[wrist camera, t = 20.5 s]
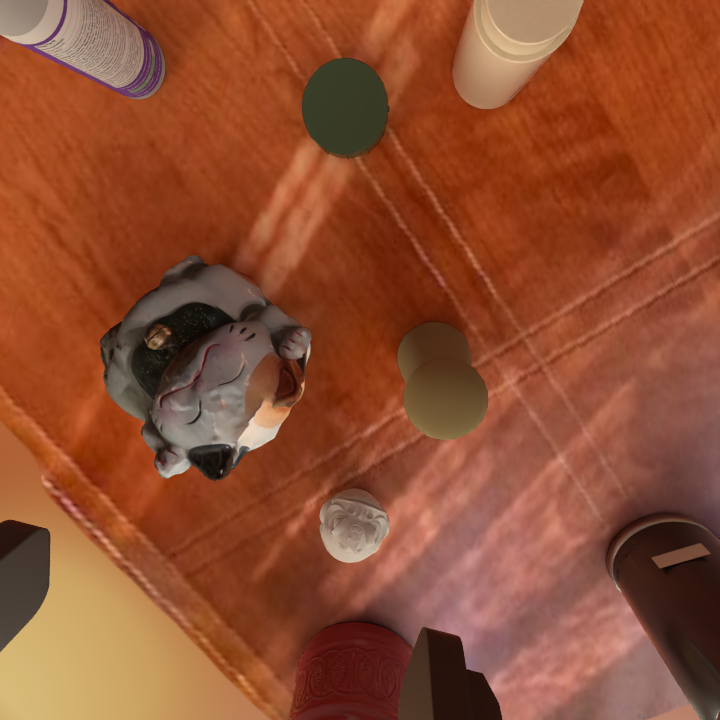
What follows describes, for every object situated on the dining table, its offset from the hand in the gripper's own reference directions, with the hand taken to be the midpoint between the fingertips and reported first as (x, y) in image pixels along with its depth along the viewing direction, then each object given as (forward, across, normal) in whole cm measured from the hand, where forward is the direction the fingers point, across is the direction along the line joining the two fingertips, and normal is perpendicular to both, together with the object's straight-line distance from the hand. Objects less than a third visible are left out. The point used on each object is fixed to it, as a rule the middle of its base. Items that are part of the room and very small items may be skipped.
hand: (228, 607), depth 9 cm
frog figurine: (+28, -4, +16) cm, 33 cm away
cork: (+28, -7, +1) cm, 29 cm away
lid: (+27, +4, -15) cm, 31 cm away
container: (+28, +20, -15) cm, 38 cm away
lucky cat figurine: (+28, +10, +4) cm, 30 cm away
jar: (+28, -5, -20) cm, 35 cm away
